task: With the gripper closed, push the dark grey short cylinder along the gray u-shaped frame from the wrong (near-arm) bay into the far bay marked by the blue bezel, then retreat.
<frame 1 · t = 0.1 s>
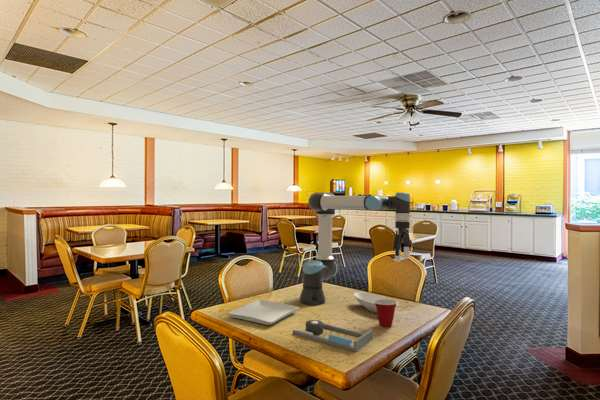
hand: (402, 260, 190), 28 cm above the table, fingers open, 13 cm apart
square plate: (264, 316, 182), on the table
bowl: (374, 310, 194), on the table
plastic cup: (385, 326, 169), on the table
gray u-shaped frame: (331, 336, 155), on the table
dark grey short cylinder: (314, 331, 161), on the table
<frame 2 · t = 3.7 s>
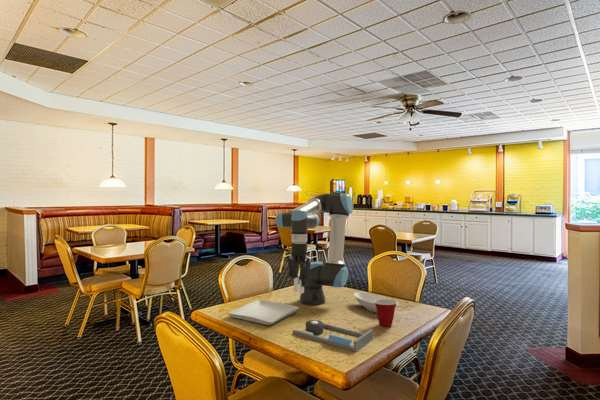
hand: (298, 292, 166), 17 cm above the table, fingers open, 3 cm apart
nothing on the table moved.
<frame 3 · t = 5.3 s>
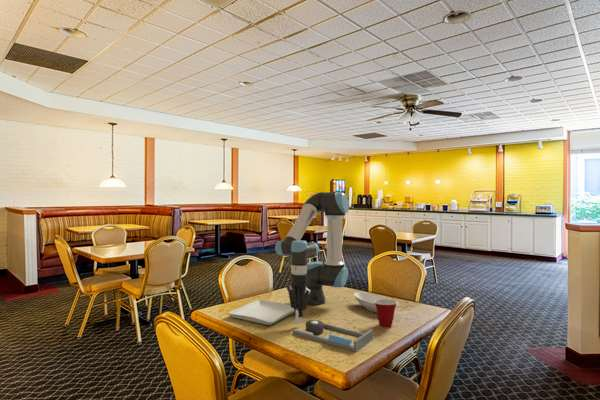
hand: (298, 323, 166), 2 cm above the table, fingers closed
nothing on the table moved.
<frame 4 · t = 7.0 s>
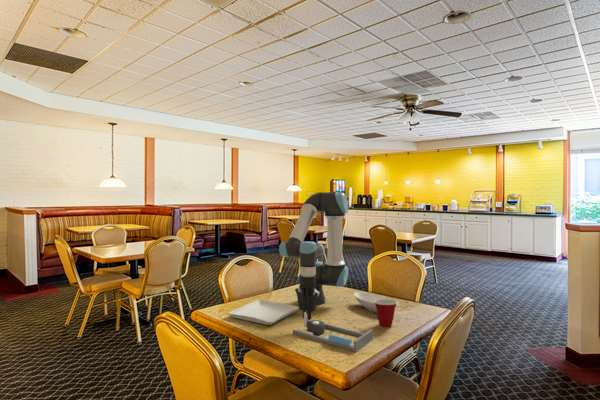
hand: (307, 326, 163), 2 cm above the table, fingers closed
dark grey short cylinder: (315, 331, 160), on the table, touching gripper
everything else where it was.
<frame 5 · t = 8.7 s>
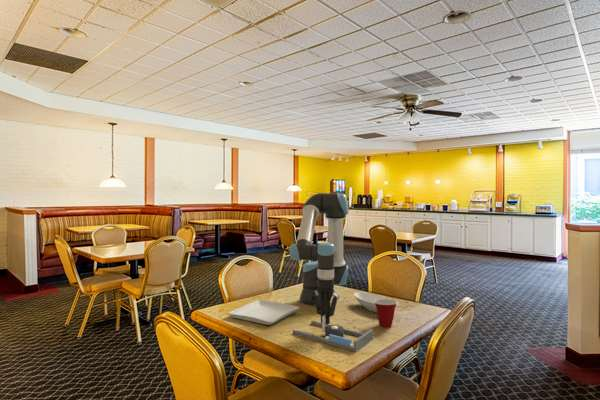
hand: (325, 330, 157), 2 cm above the table, fingers closed
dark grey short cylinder: (334, 337, 154), on the table, touching gripper
everything else where it was.
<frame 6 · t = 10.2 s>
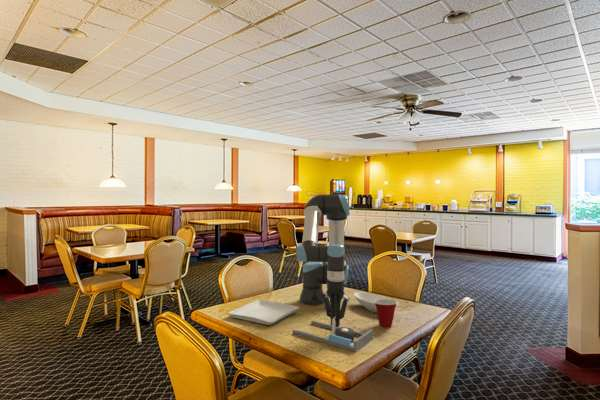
hand: (335, 333, 154), 2 cm above the table, fingers closed
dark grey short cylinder: (344, 339, 152), on the table, touching gripper
everything else where it was.
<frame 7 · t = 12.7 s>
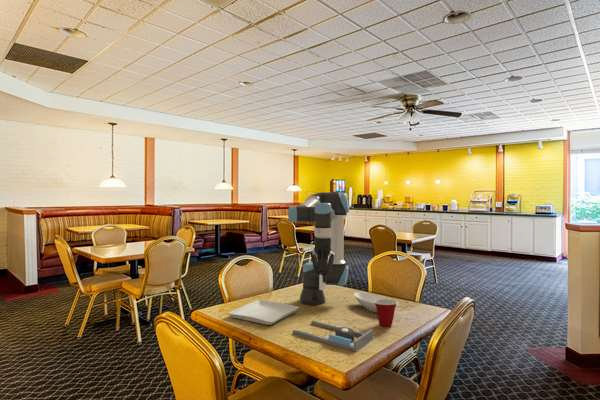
hand: (322, 289, 158), 20 cm above the table, fingers closed
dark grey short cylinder: (344, 339, 151), on the table
everything else where it was.
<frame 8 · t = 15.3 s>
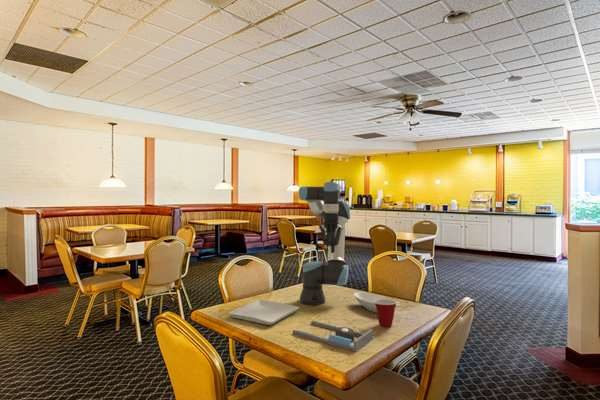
hand: (330, 258, 178), 30 cm above the table, fingers closed
nothing on the table moved.
at the end: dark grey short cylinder inside the target area on the gray u-shaped frame (2.4 cm from its centre), point 0.0 cm above the gray u-shaped frame's base; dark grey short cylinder tilted 0°; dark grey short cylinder moved 15.6 cm from its start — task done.
